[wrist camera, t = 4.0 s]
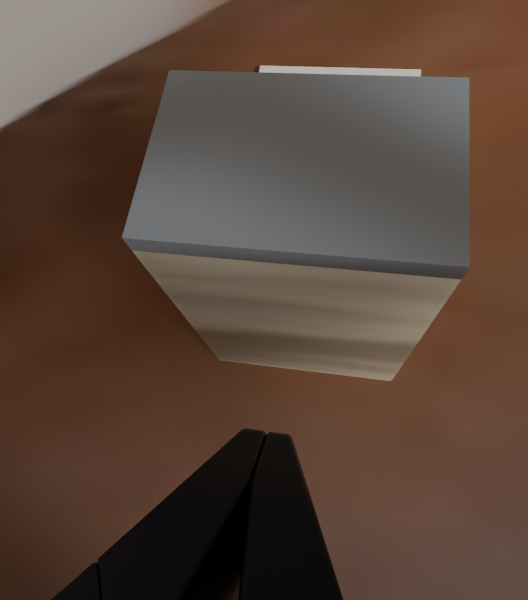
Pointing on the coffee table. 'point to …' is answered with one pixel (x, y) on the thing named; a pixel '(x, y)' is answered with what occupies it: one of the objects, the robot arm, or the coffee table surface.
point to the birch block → (307, 213)
